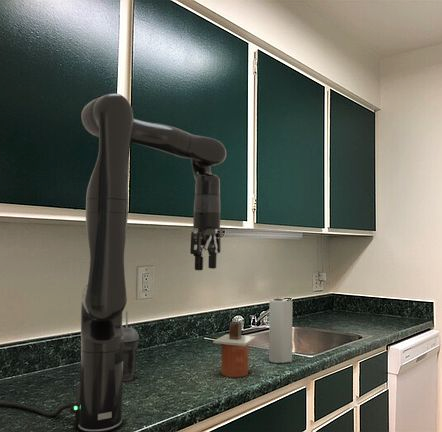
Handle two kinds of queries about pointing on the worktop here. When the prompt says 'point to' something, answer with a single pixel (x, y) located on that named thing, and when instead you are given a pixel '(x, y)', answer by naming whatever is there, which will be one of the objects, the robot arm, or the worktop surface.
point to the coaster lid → (235, 336)
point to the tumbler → (234, 360)
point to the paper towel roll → (280, 331)
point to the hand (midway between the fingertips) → (205, 269)
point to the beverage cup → (129, 351)
